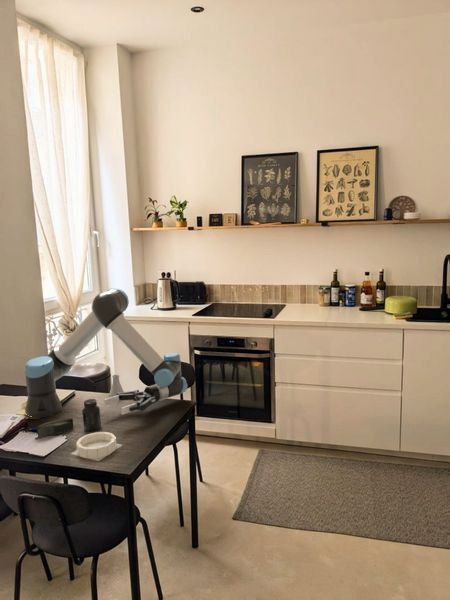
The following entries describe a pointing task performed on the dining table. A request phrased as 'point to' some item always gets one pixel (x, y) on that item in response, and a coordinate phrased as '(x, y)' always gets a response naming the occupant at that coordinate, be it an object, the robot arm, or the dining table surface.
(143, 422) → the dining table surface
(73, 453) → the mat
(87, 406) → the supplement bottle
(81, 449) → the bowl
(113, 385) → the flask
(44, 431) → the mobile phone
